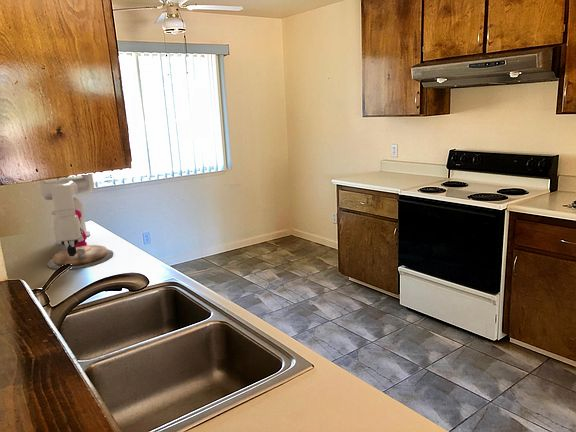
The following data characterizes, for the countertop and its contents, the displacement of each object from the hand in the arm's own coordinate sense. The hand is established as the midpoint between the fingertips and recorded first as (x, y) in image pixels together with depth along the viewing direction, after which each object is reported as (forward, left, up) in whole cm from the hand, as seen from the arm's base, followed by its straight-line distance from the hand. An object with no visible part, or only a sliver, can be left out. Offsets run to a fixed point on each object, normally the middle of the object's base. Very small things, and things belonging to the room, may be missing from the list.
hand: (72, 255), depth 196 cm
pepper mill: (-21, +24, -5) cm, 32 cm away
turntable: (-5, +9, -5) cm, 11 cm away
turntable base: (-5, +9, -5) cm, 11 cm away
